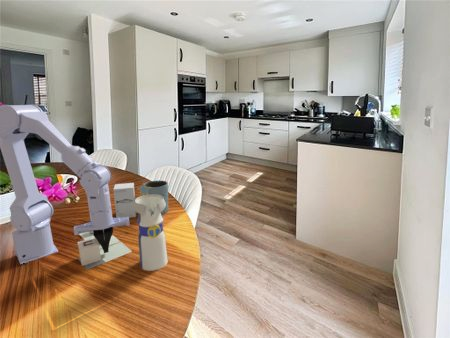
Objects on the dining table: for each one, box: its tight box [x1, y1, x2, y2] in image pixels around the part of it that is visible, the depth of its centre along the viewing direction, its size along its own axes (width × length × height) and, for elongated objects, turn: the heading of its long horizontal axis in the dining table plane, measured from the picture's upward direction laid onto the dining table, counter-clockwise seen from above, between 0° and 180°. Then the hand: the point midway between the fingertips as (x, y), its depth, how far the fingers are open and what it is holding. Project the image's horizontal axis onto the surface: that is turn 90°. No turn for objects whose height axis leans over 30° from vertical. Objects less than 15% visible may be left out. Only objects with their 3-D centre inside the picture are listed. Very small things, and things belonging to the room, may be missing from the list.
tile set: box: [78, 232, 133, 263], centre depth 88 cm, size 8×25×1 cm, turn 44°
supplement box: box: [113, 182, 137, 219], centre depth 108 cm, size 7×7×13 cm
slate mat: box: [77, 256, 106, 271], centre depth 78 cm, size 5×8×1 cm, turn 44°
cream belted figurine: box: [133, 182, 169, 272], centre depth 73 cm, size 8×9×25 cm
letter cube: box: [77, 238, 101, 267], centre depth 78 cm, size 5×5×5 cm
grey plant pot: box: [143, 180, 169, 216], centre depth 111 cm, size 10×10×12 cm
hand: (106, 251), depth 80 cm, fingers closed
